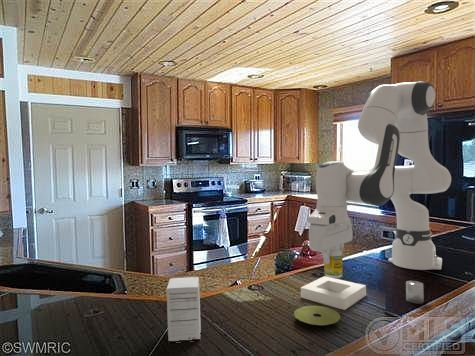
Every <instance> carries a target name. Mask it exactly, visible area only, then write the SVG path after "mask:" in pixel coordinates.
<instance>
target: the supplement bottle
mask: <svg viewBox="0 0 475 356" xmlns="http://www.w3.org/2000/svg"><path fill="white" fill-rule="evenodd" d="M339 249H340V244H338V245H336V246H335V247H333V248H330V252H329V256H330V257H331V263H329V264H325V263H324V262H323V264H324V265H323V267H324V268H323V269H324V270H323V271H324V276H326V277H331V278H335V279H339V278H342V277H343V275H344V274H343V273H344V270H343V269H344V268H343V266H344V265H343V252H341V251H340V250H339Z"/></svg>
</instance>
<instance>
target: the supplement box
mask: <svg viewBox="0 0 475 356" xmlns="http://www.w3.org/2000/svg"><path fill="white" fill-rule="evenodd" d="M200 296H201V295H200V278H199V277H198V276H192V277H191V276H189V277H187V276H186V277H177V278H176V277H172V278H171V277H170V278H169V280H168V283H167V287H166V310H167V311H166V313H167V315H166V316H167V336H168V337H167V338H168V341H179V340H192V339H200V340H201V334H200V333H201V331H202V328H201V327H202V325H201V303H200V302H201V298H200Z"/></svg>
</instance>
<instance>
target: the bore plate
mask: <svg viewBox="0 0 475 356" xmlns="http://www.w3.org/2000/svg"><path fill="white" fill-rule="evenodd" d="M366 296H367V285H366V284H362V283H356V282H352V281H348V280H343V279H339V278H331V277H327V276H326V275H324V276H322V277H319V278H318V279H315V280H313V281H311V282H309V283H307V284H305V285H303V286H300V298H301V299H305V300H309V301H312V302H315V303H319V304H322V305H326V306H330V307H332V308H336V309H340V310H343V311H345V310H347V309H348V308H351V306H353V305H355V304H356V303H358V302H359V301H360V300H362V299H363V298H365V297H366Z"/></svg>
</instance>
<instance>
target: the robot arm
mask: <svg viewBox="0 0 475 356" xmlns="http://www.w3.org/2000/svg"><path fill="white" fill-rule="evenodd" d="M435 101H436V89H435V87H434V85H433V84H432V83H431V82H430V81H423V80H422V81H421V80H418V81H409V82H399V83H395V84H381V85H379V86H377V87H375V88H374V89H373V90H371V91H370V92H369V94H368V97H367V100H366V101H365V104H364V107H363V108H362V111H361V112H360V116H359V119H358V122H357V129H358V131H359V133H360V135H361V136H362V137H363V138H364V139H366V140H367V141H369V142H371V143H373V144H376V145H377V146H378V147H377V152H376V158H375V161H374V162H375V163H374V166H373V167H372V169H370V170H368V171H367V170H366V171H365V170H364V171H363V170H362V171H357V170H356V171H354V169H351V168H349V167H347V166H346V165H345V164H344V162H343V161H342V160H332V161H325V162H323V163H320V164H319V165H318V166H317V170H316V175H315V190H316V191H315V192H316V195H317V201H316V209H315V210H314V211H313V212H312V213H310V214H309V215H308V216H307V223H308V224H310V225H309V227H308V243H309V248H310V250H311V251H313V252H317V253H318V252H320V254H321V256H322V257H323V258H322V260H323V264H324V263H325V264H329V263H331V257H330V256H329V252H330V248H333V247H335V246H336V245H338V244H340V249H339V250H340V251H341V252H342V253H343V251H344V247H345V243H349V242H351V241H353V237H354V236H353V225H352V219H351V218H350V216H349V214H348V203H347V202H350V203H357V204H365V205H371V206H376V207H380V206H381V207H382V206H384V205H385V204H387V202H389V200H391V202H392V204H393V205H394V206H393V207H394V209H395V215H396V216H395V217H396V228H395V237H396V239H394V240H393V241H392V243H391V245H392V247H391V248H392V249H391V251H392V252H391V257H389V258H388V259H387V260H388V262H390V263H392V264H393V265H395V266H396V267H399V268H404V269H409V270H418V271H419V270H420V271H427V270H428V271H429V270H442V266H443V258H442V257H439V256H438V255H436V251H437V250H436V246H435V244H434V243H433V241H432V229H431V228H430V215H429V213H430V212H429V209H428V208H427V207H426V206H425V205H424V204H421V203H420V202H417V201H414V200H413V199H412V198H411V197H410V196H411V195H412V194H415V195H416V194H421V195H422V194H423V195H424V194H426V195H427V194H428V195H429V194H438V193H444V192H445V191H447V190H448V189H449V188H450V186H451V183H452V175H451V173H450V171H449V170H448V168H447V167H445V166H443V165H442V164H440V163H439V162H438V161H437V160H436V159H435V158H434V156H433V155H432V153H431V150H430V144H429V123H428V116H427V112H430V110H431V109H432V108H433V106H434V104H435ZM398 155H400V156H401V157H403V158H406V159H409V160H410V161H412V162H413V165H397V160H398Z"/></svg>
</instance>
